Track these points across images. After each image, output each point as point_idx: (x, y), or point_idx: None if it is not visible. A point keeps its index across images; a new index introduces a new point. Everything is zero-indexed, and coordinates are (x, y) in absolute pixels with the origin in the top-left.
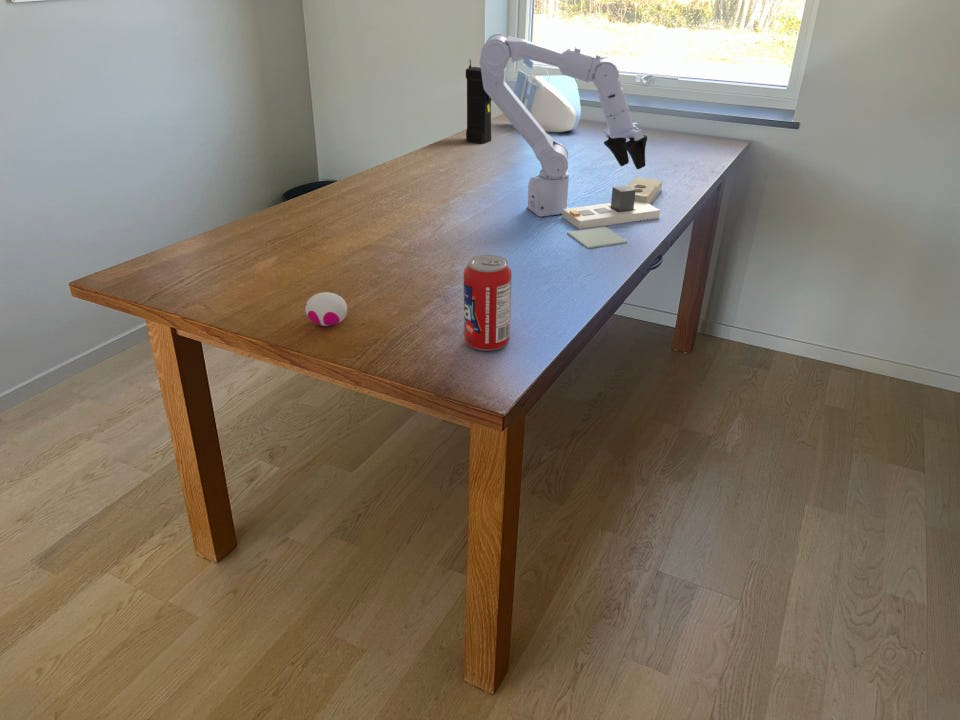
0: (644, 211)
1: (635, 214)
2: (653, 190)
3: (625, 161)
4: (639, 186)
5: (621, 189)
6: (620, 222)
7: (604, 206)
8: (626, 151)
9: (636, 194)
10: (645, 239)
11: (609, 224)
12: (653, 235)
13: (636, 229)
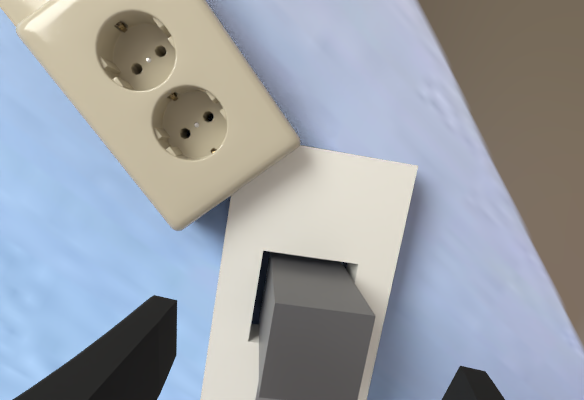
0: (392, 243)
1: (388, 293)
2: (212, 11)
3: (163, 342)
4: (106, 28)
5: (325, 382)
6: None
7: (242, 357)
8: (102, 389)
9: (246, 174)
10: (534, 363)
11: None
12: (525, 314)
13: (446, 329)
